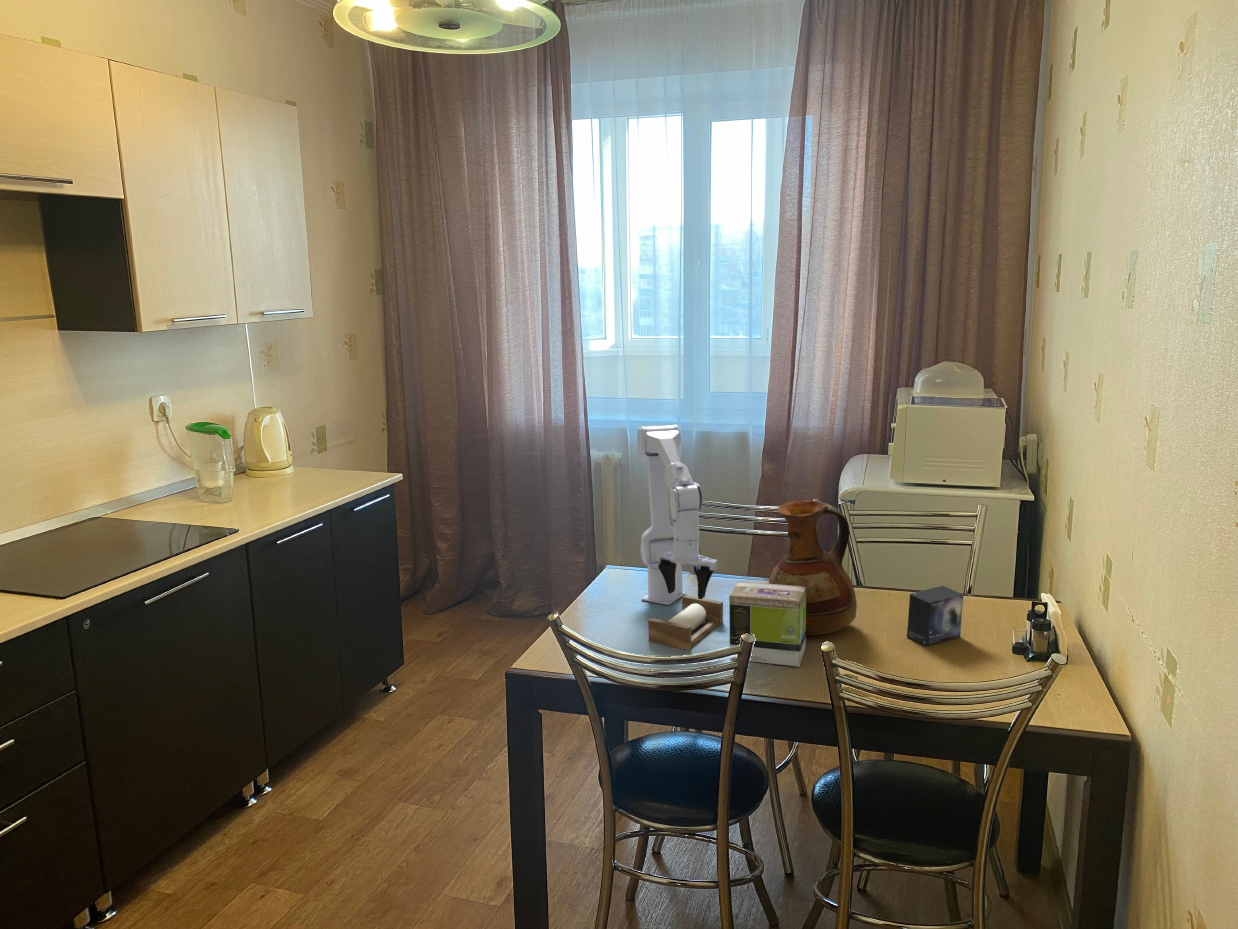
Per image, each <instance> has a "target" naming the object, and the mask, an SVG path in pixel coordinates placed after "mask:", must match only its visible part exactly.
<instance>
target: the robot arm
mask: <svg viewBox="0 0 1238 929" xmlns="http://www.w3.org/2000/svg"><path fill="white" fill-rule="evenodd" d="M681 434H682V432H681V430H680V427H679V426H678V424H672V425H654V426H640V427H639V429H638V431H637V438H636V439H637V451H638V456H639V458H638V459H639V460H641V461H644V462H645V465H646V469H647V470H646V471H647V484H648V499H649V500H648V501H649V512H650V526H649V527H648V528H647V529H646V530H645V531H644V532H643V533H642V535H641V537H640V541H641V542H640V557H641V560H642V563H643V564H644V565H645V566H647V594H645V595H644V596H642V597H641V600H642V601H645V602H650V603H657V604H661V605H665V606H669V605H671V604H672V603H674V602H676V601H677V600H678V599H680V598H682V597H683V596H684V595H686V591H683V568H682V566H683V565H684V566H692V567H698V569H697V570H695V575H696V576H695V577H696V582H697V597H698V599H702V598H705V597H706V592H707V589H708V588H707V587H708V584H709V582H710V580H711V577H712V576H713V575H714V572H715V570H717V568H718V559H713V558H710V557H707V556H704V555H702V554H700V511H701V510H702V508H703V503H704V499H703V497H704V496H703V491H702V488H701V486H700V484H699V483H697V482H695V481H694V480H693V478H692V476H691V473H690V471H689V467H687V465H686V464H685V463H682V462H681V460H680V455H679V449H680V447H681V446H682V435H681ZM668 492H669V494H668ZM669 503H670V506H669ZM670 510H671V511H670ZM670 513H671V518H672V519H673V521H672V522H673V526H671V521H670ZM681 565H682V566H681Z"/></svg>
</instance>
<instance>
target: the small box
mask: <svg viewBox="0 0 1238 929" xmlns="http://www.w3.org/2000/svg"><path fill="white" fill-rule="evenodd" d="M964 596H965V595H964V593H961V592H959V591H957V590H955V589H951V588H949V587H948V586H944V585H941V586H937V587H932V588H928V589H924V590H920V591H915V592H911V593H909V602H908V617H907V618H908V619H907V629H906V630H907V631H906V638H909V639H911V640H913V641H915V642H917V643H918V644H921V645H923V646H925V647H928V646H933V645H936V644H940V643H943V642H948V641H951V640H955V639H960V638H961V631H962V630H961V629H962V618H963V617H962V616H963V605H964ZM959 637H960V638H959Z"/></svg>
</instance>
